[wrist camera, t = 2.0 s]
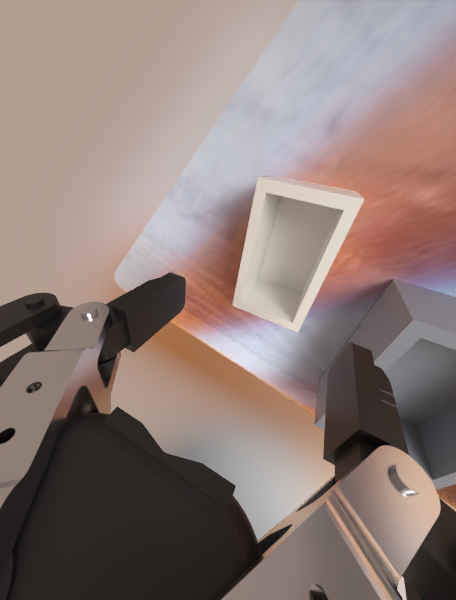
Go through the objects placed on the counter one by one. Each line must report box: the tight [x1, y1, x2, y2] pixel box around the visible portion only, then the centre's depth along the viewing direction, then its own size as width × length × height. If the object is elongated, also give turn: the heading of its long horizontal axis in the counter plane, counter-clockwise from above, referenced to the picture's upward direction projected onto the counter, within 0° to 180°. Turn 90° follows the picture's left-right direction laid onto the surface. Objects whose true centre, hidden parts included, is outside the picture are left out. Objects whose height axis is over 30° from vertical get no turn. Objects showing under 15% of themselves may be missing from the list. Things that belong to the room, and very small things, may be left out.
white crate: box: [232, 176, 364, 333], centre depth 16 cm, size 6×10×6 cm, turn 171°
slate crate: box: [315, 279, 456, 489], centre depth 17 cm, size 11×15×6 cm
